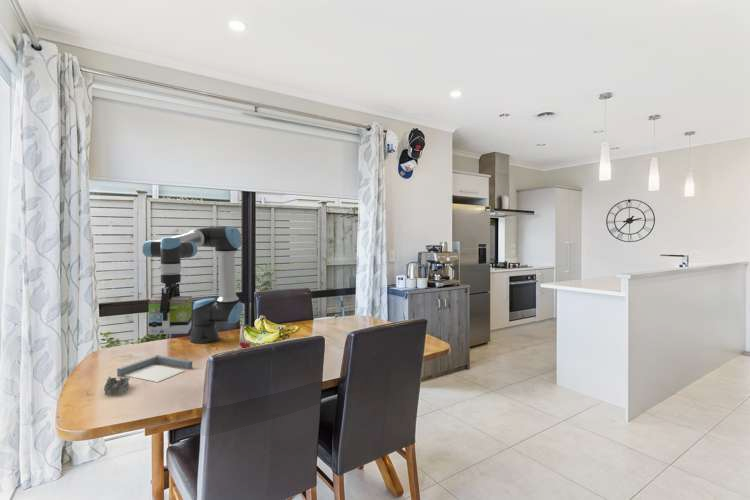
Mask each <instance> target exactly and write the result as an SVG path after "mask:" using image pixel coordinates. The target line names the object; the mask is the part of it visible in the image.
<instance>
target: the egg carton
mask: <svg viewBox="0 0 750 500" xmlns="http://www.w3.org/2000/svg"><path fill="white" fill-rule="evenodd" d="M130 378H131V377H128V376H124V377H123V378H122V377H120V378H119V379H116V377H111V376H108V378H107V380H106V382H105V385H104V387H103V391H104V395H106V396H111V395H113V394H118V395H122V394H123V393H127V390H128V386H129V385H130V384H129V381H130Z"/></svg>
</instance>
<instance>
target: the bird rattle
mask: <svg viewBox="0 0 750 500" xmlns="http://www.w3.org/2000/svg"><path fill="white" fill-rule="evenodd" d="M239 346H240V347H238V348H237V349H241V348H247V347H250V348H251V342H245V341H243V342H242V341H240V342H239Z"/></svg>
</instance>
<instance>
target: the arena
mask: <svg viewBox="0 0 750 500" xmlns="http://www.w3.org/2000/svg"><path fill="white" fill-rule="evenodd" d="M153 364H154V365H153ZM157 364H159V365H157ZM163 365H165V366H163ZM167 366H168V367H167ZM169 366H170V367H169ZM171 366H172V367H171ZM173 367H174V368H173ZM179 368H181V369H179ZM192 368H193V360H188V359H182V358H177V357H170V356H166V355H164V356H163V355H159V354H157V355H154V356H153V355H152V356H150V357H148V358H144V359H142V360H139V361H137V362H132V363H130V364H126V365H124V366H121V367H118V368H117V369H116V374H117V377H127V378H128V377H130V378H134V379H139V380H143V381H147V382H153V383H159V382H162V381H164V380H167V379H169V378H172V377H174V376H177V375H179V374H181V373H184V372H186V370H190V369H192ZM185 369H186V370H185Z"/></svg>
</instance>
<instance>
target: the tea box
mask: <svg viewBox="0 0 750 500" xmlns="http://www.w3.org/2000/svg"><path fill="white" fill-rule="evenodd" d="M161 296H162V295H160V296H153V297H152V298H151V299H150V300H148V320H147V321H148V322H147V323H148V325H147V326H148V336H151V335H166V334H167V335H171V334H172V335H173V334H188V333H189V331H190V330H191V328H192V316H193V315H192V313H193V305H192V302H193V301H192V300H193V298H192V295H180V296H173V297H172V298H171V300H168V302H169V301H170V308H169V312H170V328H162V313H160V312H159V311H160V304H161Z"/></svg>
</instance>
